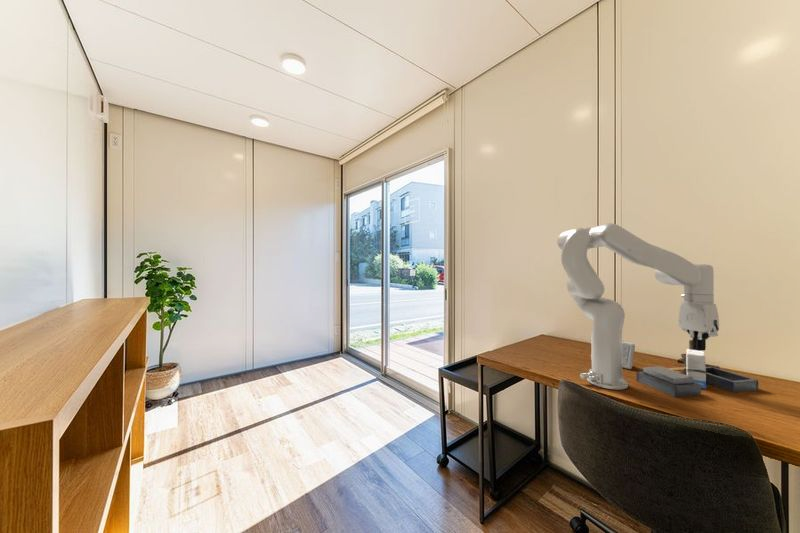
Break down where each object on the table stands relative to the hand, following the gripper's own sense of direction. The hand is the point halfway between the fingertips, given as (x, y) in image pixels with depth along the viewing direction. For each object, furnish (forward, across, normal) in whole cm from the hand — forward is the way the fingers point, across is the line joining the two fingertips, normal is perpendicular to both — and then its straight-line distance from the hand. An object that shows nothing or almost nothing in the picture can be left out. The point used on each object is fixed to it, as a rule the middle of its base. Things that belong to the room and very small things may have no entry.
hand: (699, 349), depth 107 cm
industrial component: (+14, -15, +18) cm, 27 cm away
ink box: (+14, -3, +2) cm, 14 cm away
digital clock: (+14, -27, -10) cm, 32 cm away
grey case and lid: (+13, -2, 0) cm, 13 cm away
